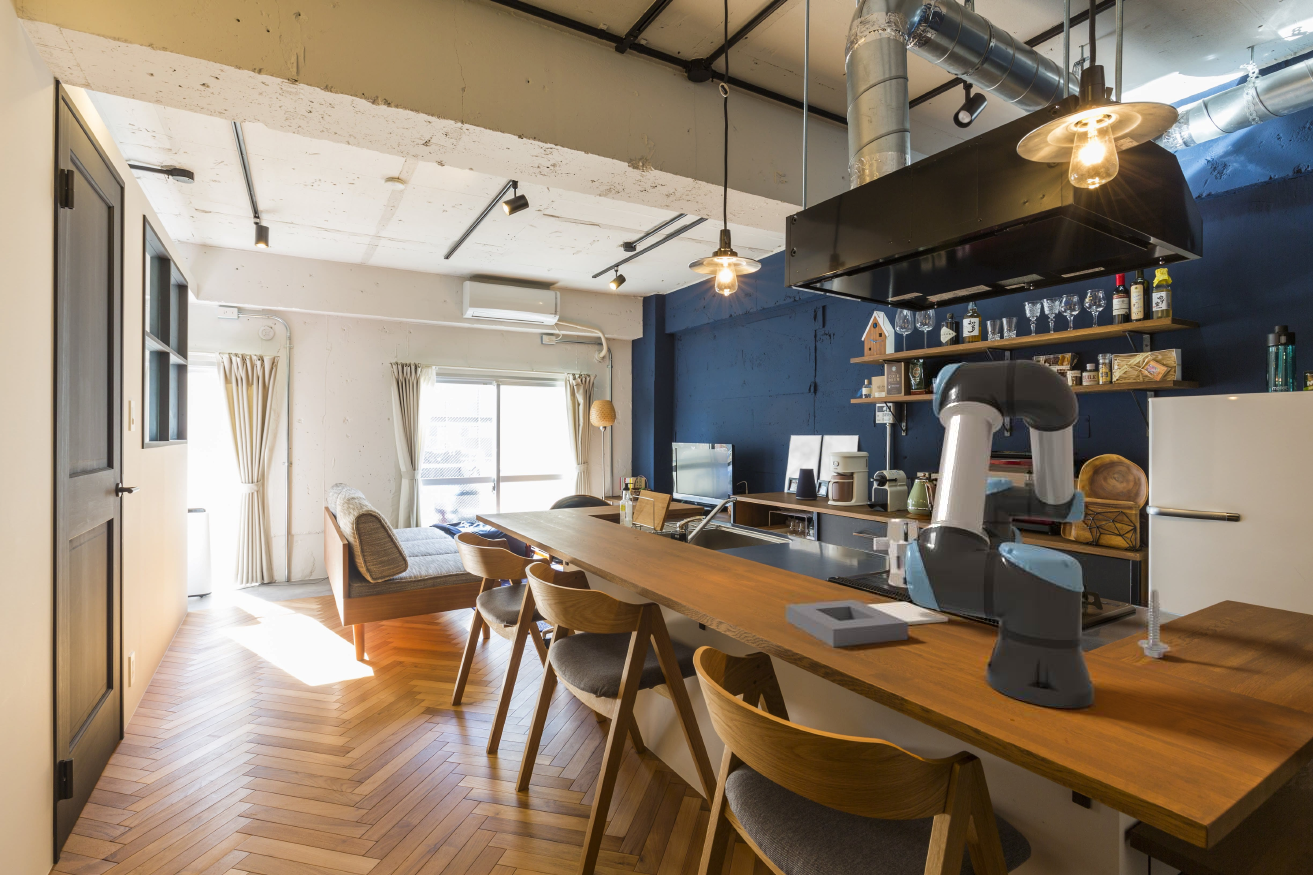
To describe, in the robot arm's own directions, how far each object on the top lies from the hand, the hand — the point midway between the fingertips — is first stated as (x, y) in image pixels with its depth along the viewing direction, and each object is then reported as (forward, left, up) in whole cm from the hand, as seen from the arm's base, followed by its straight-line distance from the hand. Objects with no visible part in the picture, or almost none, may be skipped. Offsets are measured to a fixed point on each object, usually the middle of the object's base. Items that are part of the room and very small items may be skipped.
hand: (885, 546), depth 142 cm
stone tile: (0, -5, -16) cm, 17 cm away
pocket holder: (-6, +15, -16) cm, 23 cm away
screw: (-36, -34, -16) cm, 52 cm away
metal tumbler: (0, -5, -9) cm, 10 cm away
